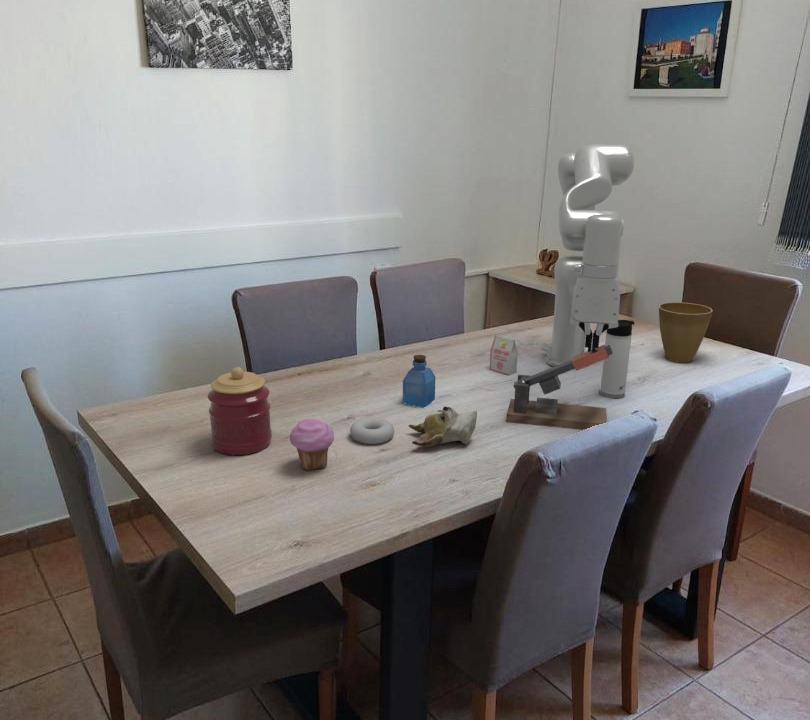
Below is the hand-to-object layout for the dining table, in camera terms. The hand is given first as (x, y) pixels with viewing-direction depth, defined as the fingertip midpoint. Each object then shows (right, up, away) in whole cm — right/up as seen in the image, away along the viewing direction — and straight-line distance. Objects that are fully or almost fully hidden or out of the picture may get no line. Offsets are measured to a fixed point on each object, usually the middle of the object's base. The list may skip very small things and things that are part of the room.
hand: (591, 350), depth 164 cm
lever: (-4, -8, +4) cm, 10 cm away
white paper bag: (-15, -6, +40) cm, 43 cm away
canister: (-79, -21, -7) cm, 82 cm away
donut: (-50, -20, -3) cm, 54 cm away
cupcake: (-62, -24, -17) cm, 68 cm away
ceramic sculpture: (-34, -21, -5) cm, 40 cm away
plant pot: (+40, -2, +52) cm, 65 cm away
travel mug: (+12, -11, +23) cm, 28 cm away
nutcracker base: (-6, -16, +7) cm, 19 cm away
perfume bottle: (-39, -13, +17) cm, 45 cm away
